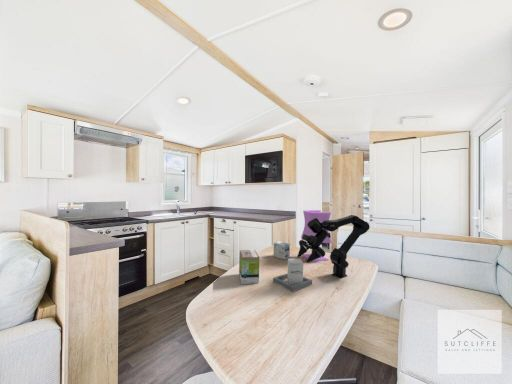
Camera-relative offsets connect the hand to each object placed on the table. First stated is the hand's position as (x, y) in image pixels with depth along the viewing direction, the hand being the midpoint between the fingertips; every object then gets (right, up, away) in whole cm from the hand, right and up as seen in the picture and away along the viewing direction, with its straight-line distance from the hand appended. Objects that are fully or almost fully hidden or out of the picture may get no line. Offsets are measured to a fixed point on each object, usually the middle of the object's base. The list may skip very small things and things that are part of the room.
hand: (302, 259), depth 127 cm
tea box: (-30, -12, +4) cm, 33 cm away
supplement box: (-4, -13, -2) cm, 13 cm away
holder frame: (-6, -12, -2) cm, 14 cm away
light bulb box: (-7, -11, +44) cm, 46 cm away
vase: (+18, -12, +43) cm, 48 cm away
